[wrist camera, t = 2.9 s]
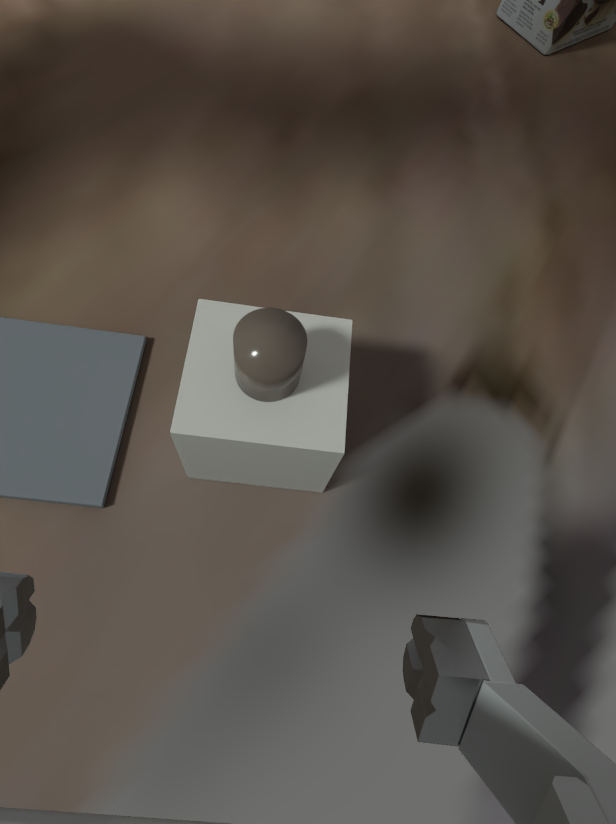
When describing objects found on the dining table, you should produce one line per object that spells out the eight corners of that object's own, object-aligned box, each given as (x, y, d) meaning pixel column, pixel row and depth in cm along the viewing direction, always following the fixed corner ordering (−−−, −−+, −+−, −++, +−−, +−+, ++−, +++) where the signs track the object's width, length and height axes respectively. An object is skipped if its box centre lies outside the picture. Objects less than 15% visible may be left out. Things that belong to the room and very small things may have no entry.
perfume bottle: (187, 477, 24) (159, 404, 16) (208, 367, 26) (192, 258, 18) (322, 492, 24) (358, 429, 16) (330, 383, 27) (364, 283, 19)
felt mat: (-103, 485, 22) (-109, 483, 22) (-30, 317, 26) (-34, 312, 25) (103, 508, 23) (101, 506, 22) (146, 340, 26) (144, 336, 26)
